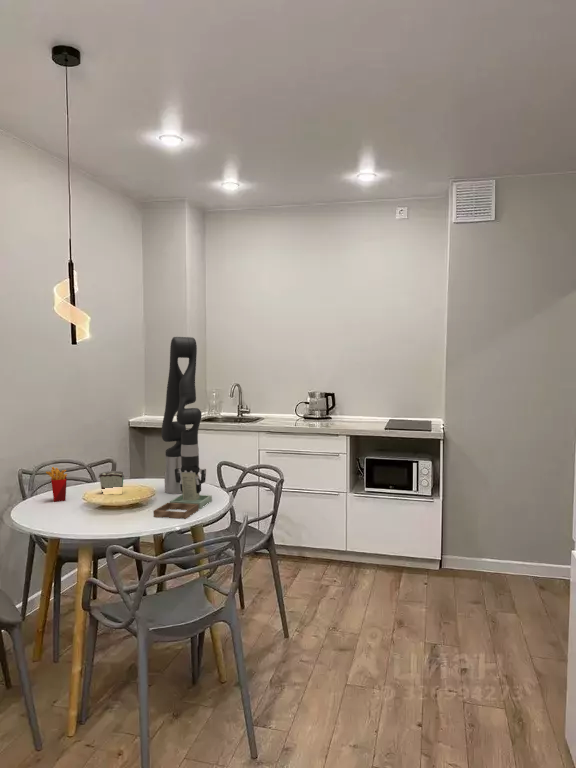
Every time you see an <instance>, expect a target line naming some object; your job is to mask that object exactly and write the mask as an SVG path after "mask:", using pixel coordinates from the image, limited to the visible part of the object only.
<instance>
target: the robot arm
mask: <svg viewBox="0 0 576 768" xmlns="http://www.w3.org/2000/svg"><path fill="white" fill-rule="evenodd" d="M197 349H198V347H197V341H196V339H195V338H194V337H191V336H173V337H172V339H171V341H170V348H169V370H168V371H169V372H168V376H167V377H168V378H167V386H166V395H165V407H164V409H165V410H164V414H163V420H162V424H161V431H160V432H161V433H160V434H161V439H162V440H163V441H164V442H166V443H167V442H168V443H169V442H170V443H171V442H176V443H175V444H174V445H172V446H171V447H168V448H167V449H166V450H165V472H164V474H163V475H164V493H167V494H172V495H174V494H177V495H178V494H183V490H182V472H184V473H187V472H190V473H194V472H195V473H196V475H197V474H198V477H196V476H195V480H196V483H197V493H199V494H200V493H201V492H202V484H204V483H206V478H207V477H206V476H207V475H206V474H207V469H206V468H200V454H199V452H200V451H199V428H200V423H201V420H202V411H201V409H199V408H198V407H192V408H189V407H188V408H185V407H186V406H188V405H192V404H194V403H195V402H196V401H197V392H196V370H197V353H198V350H197ZM181 358H182V359H183V358H184V359H185V358H186V359H188V364H187V367H186V370H185V371H184V373H183V372H182V370H181V368H180V366H179V359H181ZM175 415H176V421H173V420H174V418H175ZM186 425H187V426H189V425H192V427H191V428H189V429H187V426H186ZM199 473H200V474H199ZM199 475H200V476H199Z"/></svg>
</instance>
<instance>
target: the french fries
mask: <svg viewBox="0 0 576 768" xmlns="http://www.w3.org/2000/svg"><path fill="white" fill-rule="evenodd" d="M66 471H67V469H63V470H61V471H60V470H59V468H58V467H54V466H52V467H51V470H50V471H45V474H47V475H48V476H49V477H50V479H51V480H50V481H51V489H52V490H51V491H52V496H53V497H52V498H53V502H54V503H58V502H66V497H67V476H68V473H65V472H66Z"/></svg>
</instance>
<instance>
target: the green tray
mask: <svg viewBox="0 0 576 768" xmlns="http://www.w3.org/2000/svg"><path fill="white" fill-rule="evenodd" d="M199 495H200V498H199V499H198V500H196V501H190V500H183V493H181V494H180V495H178V496H176V497H175V498H172V500H170V501H169V503H184V504H199V510H201V509H203V508H204V507H206V506H207V505H208V504H210V503H212V501H213V496H212V495H209V494H207V495H206V494H199ZM209 502H210V503H209ZM207 503H208V504H207ZM206 504H207V505H206ZM205 505H206V506H205ZM203 506H204V507H203ZM202 507H203V508H202Z"/></svg>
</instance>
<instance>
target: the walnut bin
mask: <svg viewBox="0 0 576 768" xmlns="http://www.w3.org/2000/svg"><path fill="white" fill-rule="evenodd" d="M177 509H181V510H180V511H175V510H177ZM182 510H183V511H182ZM196 511H197V512H198V511H200V509H199V504H184V503H170V502H166V503H164V504H163V505H161V506H159V507H157V508H156V509H154V510H153V517H154V518H163V517H169V518H168V519H180V518H184V520H186V518H187V519H188V518H189V517H191V516H192V515H194V514H195V513H196ZM193 513H194V514H193ZM190 515H191V516H190Z"/></svg>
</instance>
